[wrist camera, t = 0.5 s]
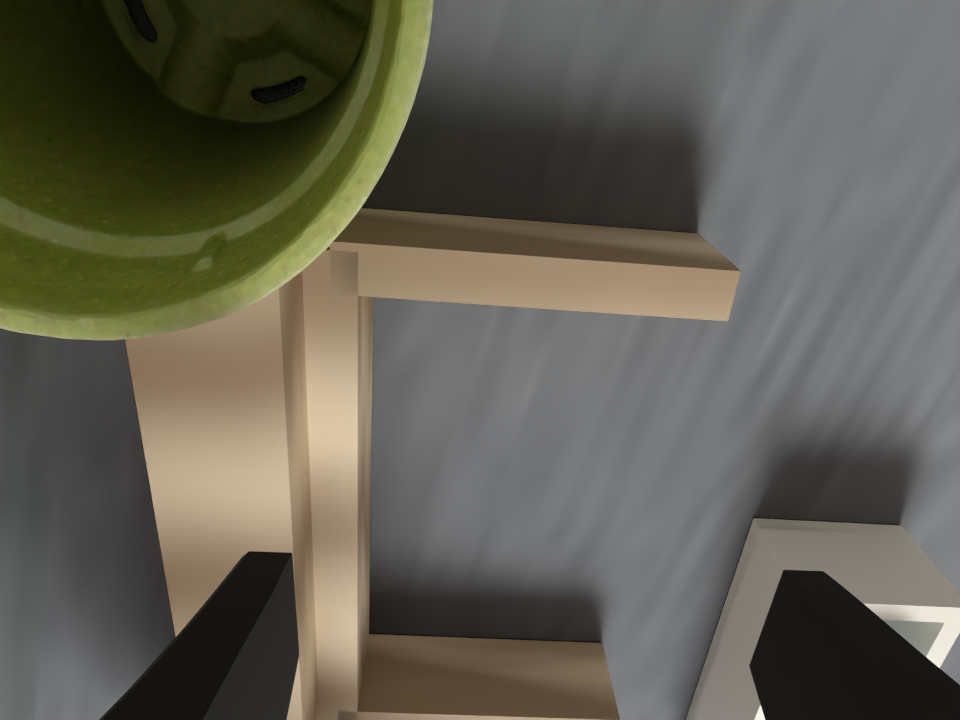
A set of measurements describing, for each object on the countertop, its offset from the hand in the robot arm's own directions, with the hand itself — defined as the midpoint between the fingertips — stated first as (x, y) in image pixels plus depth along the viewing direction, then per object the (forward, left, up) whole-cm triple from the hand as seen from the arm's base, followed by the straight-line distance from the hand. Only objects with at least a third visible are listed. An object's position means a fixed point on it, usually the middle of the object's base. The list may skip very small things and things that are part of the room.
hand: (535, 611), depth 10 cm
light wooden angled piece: (-5, +1, -10) cm, 11 cm away
